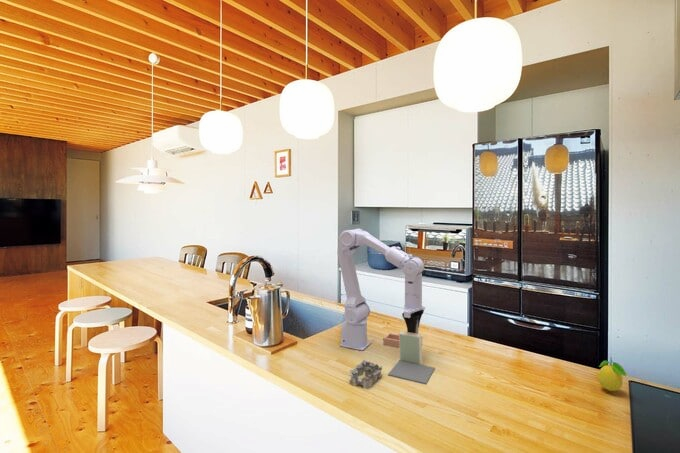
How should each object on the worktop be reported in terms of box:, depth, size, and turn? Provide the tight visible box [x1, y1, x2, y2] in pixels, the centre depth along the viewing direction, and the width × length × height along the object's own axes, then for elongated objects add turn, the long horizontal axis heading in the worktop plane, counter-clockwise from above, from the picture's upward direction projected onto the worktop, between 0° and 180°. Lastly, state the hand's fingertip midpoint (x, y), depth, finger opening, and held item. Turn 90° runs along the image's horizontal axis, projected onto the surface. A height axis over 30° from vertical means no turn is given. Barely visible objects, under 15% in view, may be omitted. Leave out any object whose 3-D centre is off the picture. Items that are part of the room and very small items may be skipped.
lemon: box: [597, 357, 628, 392], centre depth 100 cm, size 7×6×10 cm
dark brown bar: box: [406, 318, 423, 346], centre depth 121 cm, size 3×6×10 cm, turn 62°
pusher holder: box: [382, 332, 400, 349], centre depth 135 cm, size 6×9×2 cm
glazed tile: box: [398, 330, 423, 365], centre depth 119 cm, size 7×2×10 cm, turn 61°
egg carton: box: [349, 359, 383, 389], centre depth 109 cm, size 11×8×4 cm
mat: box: [387, 359, 436, 385], centre depth 113 cm, size 12×11×1 cm
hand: (413, 332), depth 121 cm, fingers closed on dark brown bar, 3 cm apart
